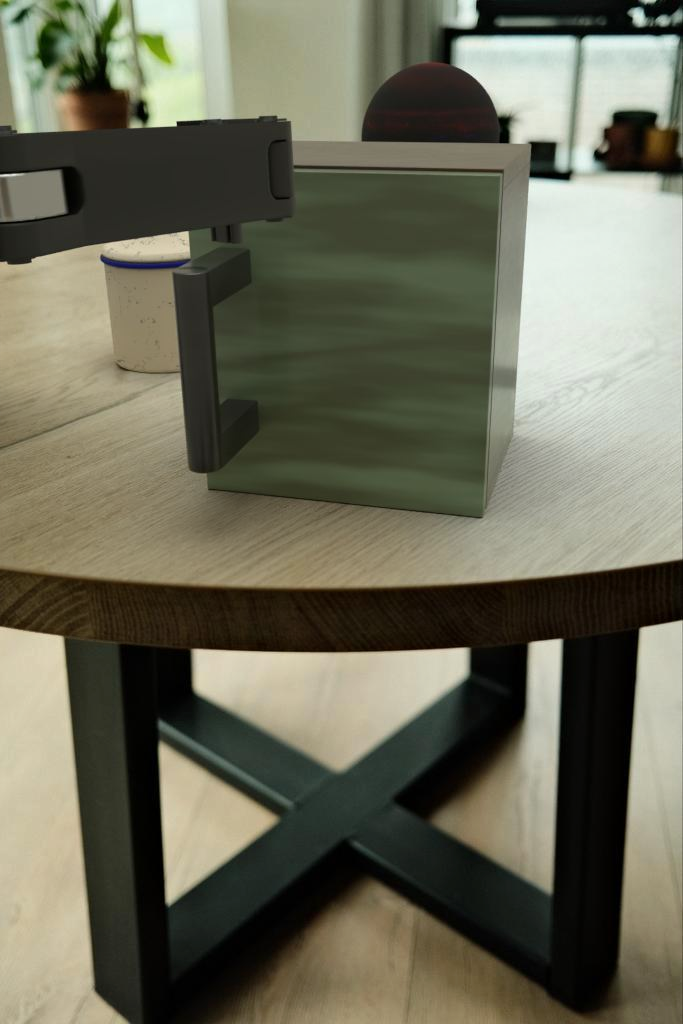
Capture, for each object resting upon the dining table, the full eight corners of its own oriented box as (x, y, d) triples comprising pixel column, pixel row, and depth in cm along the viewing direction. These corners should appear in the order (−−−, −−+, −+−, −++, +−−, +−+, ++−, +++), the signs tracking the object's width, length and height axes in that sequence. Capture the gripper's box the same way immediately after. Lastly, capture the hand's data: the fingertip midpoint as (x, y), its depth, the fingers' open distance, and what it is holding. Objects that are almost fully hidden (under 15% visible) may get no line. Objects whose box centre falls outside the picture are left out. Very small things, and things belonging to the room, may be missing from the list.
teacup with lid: (229, 371, 80) (219, 218, 75) (111, 379, 78) (93, 224, 73) (217, 332, 90) (208, 196, 86) (113, 338, 89) (97, 200, 84)
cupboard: (486, 511, 56) (504, 168, 48) (215, 482, 60) (192, 162, 52) (513, 435, 66) (531, 143, 59) (281, 415, 70) (269, 140, 63)
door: (462, 573, 49) (479, 194, 42) (160, 536, 53) (125, 185, 46) (485, 510, 56) (503, 172, 48) (213, 482, 60) (190, 166, 52)
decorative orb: (477, 196, 162) (483, 59, 154) (511, 216, 144) (520, 62, 136) (353, 200, 160) (352, 62, 152) (372, 221, 142) (372, 65, 134)
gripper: (-900, 429, 21) (-198, 276, 41) (232, 462, 16) (422, 268, 35) (-1097, 36, 19) (-245, 72, 38) (186, -83, 13) (419, 30, 33)
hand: (78, 167), depth 37 cm, fingers open, 13 cm apart
